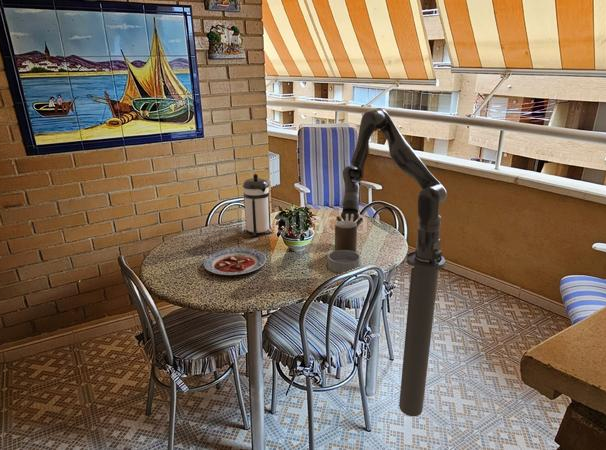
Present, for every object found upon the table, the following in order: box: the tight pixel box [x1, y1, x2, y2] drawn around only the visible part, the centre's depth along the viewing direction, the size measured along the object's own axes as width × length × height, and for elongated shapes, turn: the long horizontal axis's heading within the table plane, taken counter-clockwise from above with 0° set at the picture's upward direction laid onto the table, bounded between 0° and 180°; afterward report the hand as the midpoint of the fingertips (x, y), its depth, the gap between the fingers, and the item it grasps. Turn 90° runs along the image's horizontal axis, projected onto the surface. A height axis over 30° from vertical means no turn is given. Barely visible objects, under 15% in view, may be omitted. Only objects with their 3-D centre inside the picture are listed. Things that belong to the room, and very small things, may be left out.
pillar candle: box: [334, 220, 358, 253], centre depth 179 cm, size 10×10×15 cm
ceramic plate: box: [203, 247, 267, 276], centre depth 170 cm, size 26×26×3 cm
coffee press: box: [242, 173, 274, 238], centre depth 203 cm, size 17×16×30 cm
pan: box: [327, 250, 362, 274], centre depth 168 cm, size 13×13×4 cm
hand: (348, 236), depth 188 cm, fingers closed
